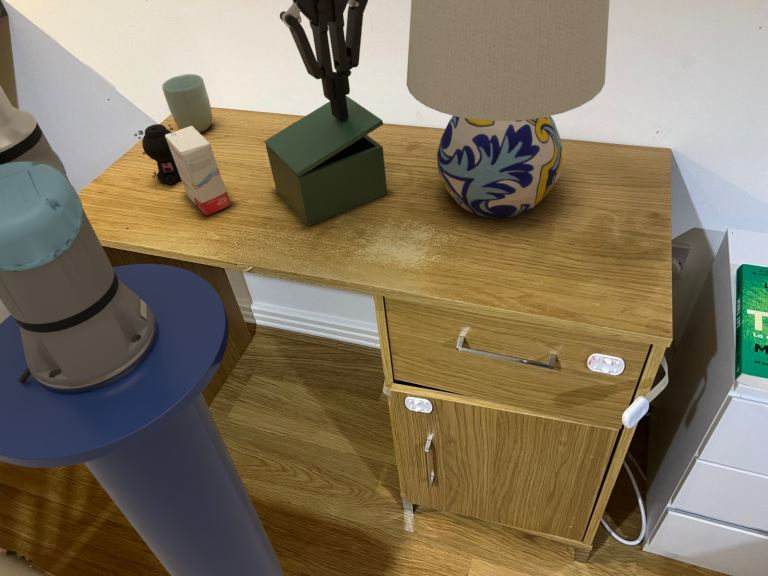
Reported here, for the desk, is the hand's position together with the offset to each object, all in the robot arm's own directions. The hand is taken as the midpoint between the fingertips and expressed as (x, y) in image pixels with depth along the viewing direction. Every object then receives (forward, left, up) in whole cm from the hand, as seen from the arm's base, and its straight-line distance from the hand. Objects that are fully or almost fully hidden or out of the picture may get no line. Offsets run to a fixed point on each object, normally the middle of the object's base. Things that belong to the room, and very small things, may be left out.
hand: (340, 116), depth 92 cm
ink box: (-22, +11, -13) cm, 28 cm away
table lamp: (+18, -17, -13) cm, 28 cm away
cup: (-15, +39, -13) cm, 44 cm away
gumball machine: (-25, +23, -13) cm, 36 cm away
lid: (-3, 0, -2) cm, 4 cm away
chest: (-4, 0, -13) cm, 13 cm away
